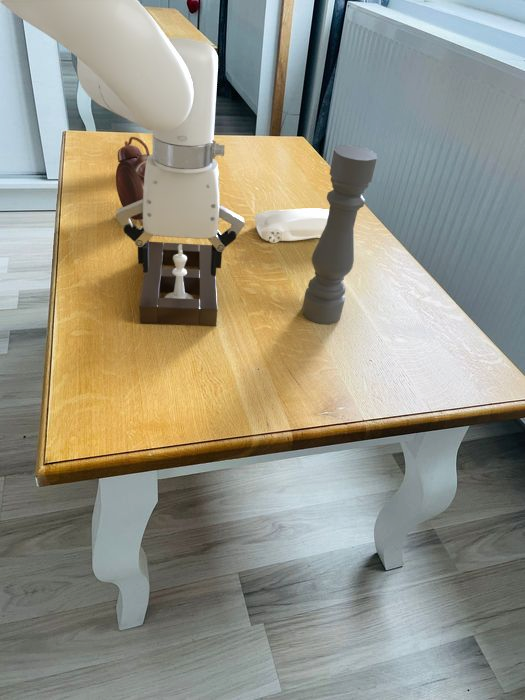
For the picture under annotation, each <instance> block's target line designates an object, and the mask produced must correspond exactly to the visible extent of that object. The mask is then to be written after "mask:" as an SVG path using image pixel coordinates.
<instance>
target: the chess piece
mask: <svg viewBox="0 0 525 700" xmlns="http://www.w3.org/2000/svg"><path fill="white" fill-rule="evenodd" d="M182 244H183V243H182ZM182 244H179V246H178V254H176V255H174V256H173V260H174V263H175V266H174V267H175V268H174V269H173V271H172V273H173V274H174V275H175V276H176V282H175V288H174V292H172V293H166V294H165V296H164V297H163V298H181V299H195V297H194V296H193V295H192V294H188V293H185V291H184V282H183V276H185V275H186V274H187V271H186V269H187V268H185V267H186V266H185V263H186V261H187V257H186V256H185V255H183V251H182Z"/></svg>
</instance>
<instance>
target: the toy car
mask: <svg viewBox="0 0 525 700" xmlns="http://www.w3.org/2000/svg"><path fill="white" fill-rule="evenodd" d="M328 214H329V209H326V208H320V207H319V208H318V207H309V208H295V209H294V208H293V209H273V210H265V211H259V212H258V213H256V214H255V215H254V222H255V228H256V231H257V233H258V236H259V237H261V239H262V240H264V241H266V242H269V243H272V244H277V243H278V242H294V241H301V240H303V241H304V240H310V239H315V238H318V239H320V237H321V235H322V233H323V231H324V228H325V226H326V224H327V219H328Z"/></svg>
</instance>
